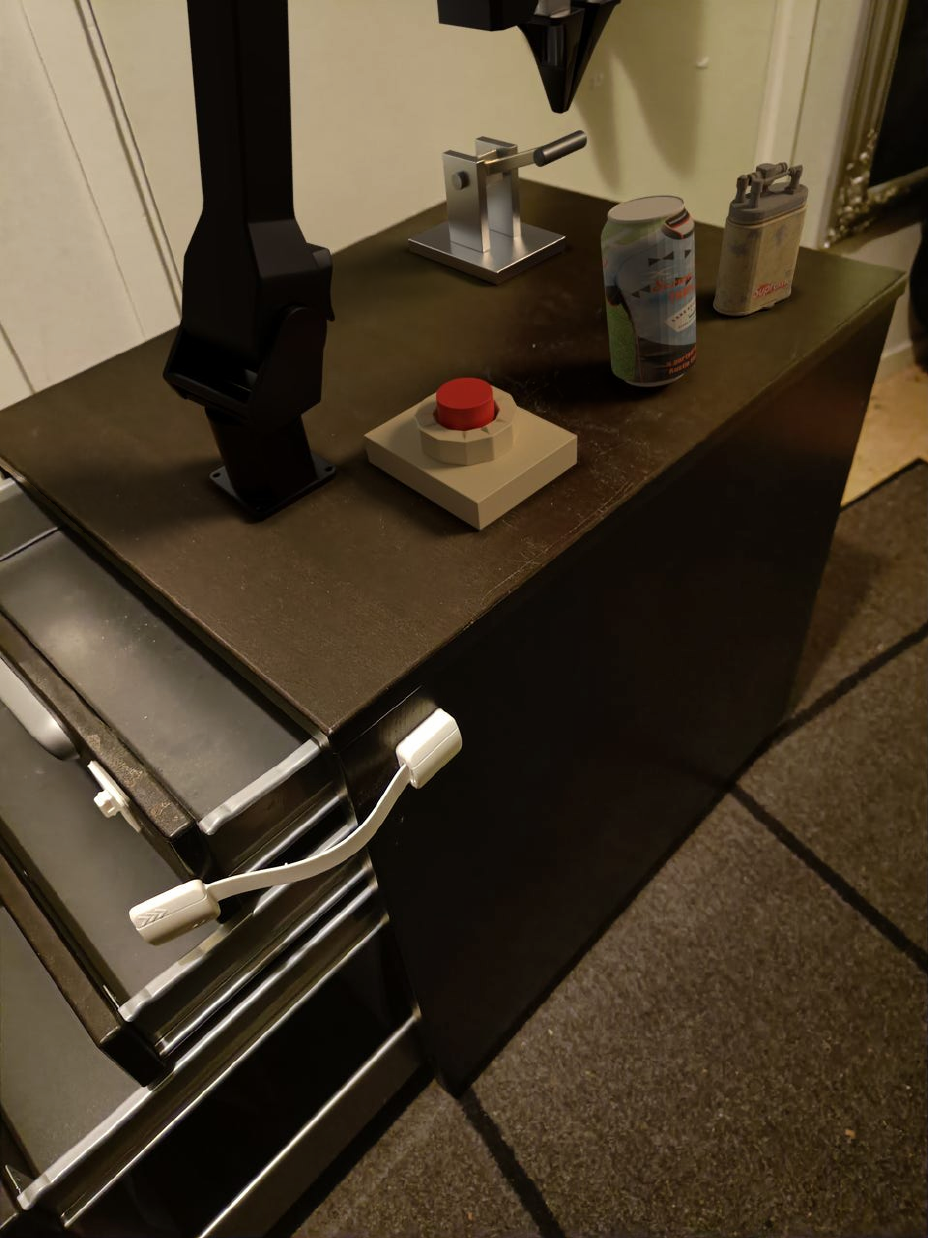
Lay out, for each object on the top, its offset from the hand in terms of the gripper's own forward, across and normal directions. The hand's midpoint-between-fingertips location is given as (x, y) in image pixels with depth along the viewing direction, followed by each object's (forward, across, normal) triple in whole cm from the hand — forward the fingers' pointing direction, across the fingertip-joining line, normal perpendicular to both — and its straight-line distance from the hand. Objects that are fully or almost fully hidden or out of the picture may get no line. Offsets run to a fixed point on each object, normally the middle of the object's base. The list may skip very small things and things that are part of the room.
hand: (560, 111), depth 64 cm
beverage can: (+13, +8, +16) cm, 22 cm away
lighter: (+13, -6, +16) cm, 21 cm away
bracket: (+13, 0, -9) cm, 16 cm away
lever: (+6, 0, -5) cm, 7 cm away
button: (+9, +24, +14) cm, 29 cm away
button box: (+13, +24, +14) cm, 30 cm away
